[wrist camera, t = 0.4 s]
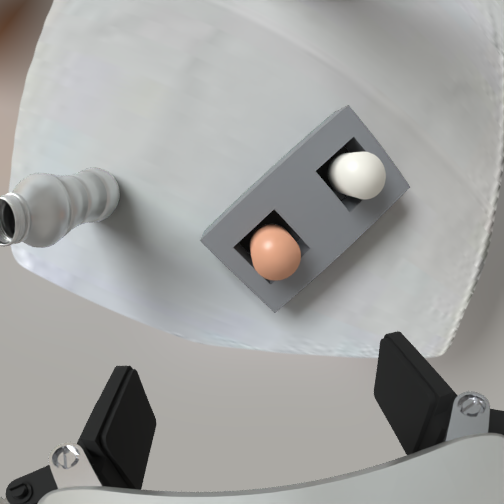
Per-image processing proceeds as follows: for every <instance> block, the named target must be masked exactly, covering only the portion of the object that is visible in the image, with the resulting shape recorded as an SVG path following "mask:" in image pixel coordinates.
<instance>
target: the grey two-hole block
mask: <svg viewBox="0 0 504 504" xmlns="http://www.w3.org/2000/svg"><path fill="white" fill-rule="evenodd" d="M343 146H345V147H346V149H347V150H348V151H349V152H350V153H352V152H369V153H372V154H374V155H375V156H377V157H378V158H379V159H380V160H381V162H382V163H383V165H384V168H385V172H386V180H385V184H384V187H383V189H382V190H381V192H380V193H379V194H378V195H377V196H375V197H373V198H371V199H359V198H355V197H352V196H348V195H347V196H346V197H345V198H344V199H343V200H342V201H340V200H339V198H338V197H337V196H336V195H335V194H334V192H333V191H332V190H331V189H330V188H329V186H328V185H327V184H326V183H325V182H324V181H323V179H322V178H321V177H320V176H319V175H318V174H317V172H316V170H317V169H318V168H320V167H321V166H322V165H323V164H324V163H325V162H326V161H327V160H328V159H329V158H331V157H332V156H333V155H334V154H335V153H336V152H337V151H338V150H339V149H340V148H342V147H343ZM409 188H410V186H409V184H408V183H407V181H406V180H405V178H404V177H403V176H402V174H401V173H400V171H399V170H398V168H397V167H396V166H395V164H394V163H393V161H392V160H391V159H390V157H389V156H388V154H387V153H386V152H385V150H384V149H383V148H382V146H381V145H380V144H379V142H378V141H377V140H376V138H375V137H374V136H373V135H372V133H371V132H370V131H369V130H368V128H367V127H366V126H365V125H364V123H363V122H362V121H361V120H360V118H359V117H358V116H357V115H356V114H355V112H354V111H353V110H352V109H351V108H350V106H349V105H347V106H345V107H343V108H341V109H339V110H337V111H335V112H334V113H333V114H331V115H330V116H329V117H328V118H327V119H326V120H325V121H323V122H322V123H321V124H320V125H319V126H318V127H316V128H315V129H314V130H313V131H312V132H311V133H310V134H308V135H307V136H306V137H305V138H304V139H303V140H302V141H300V142H299V143H298V144H297V145H296V146H295V147H294V148H293V149H292V150H290V151H289V152H288V153H287V154H286V155H285V156H284V157H283V158H282V159H280V160H279V161H278V162H277V163H276V164H275V165H274V166H273V167H272V168H271V169H269V170H268V171H267V172H266V173H265V174H264V175H263V176H262V177H261V178H260V179H259V180H257V181H256V182H255V183H254V184H253V185H252V186H251V187H250V188H249V189H248V190H247V191H246V192H245V193H244V194H243V195H241V196H240V197H239V198H238V199H237V200H236V201H235V202H234V203H233V204H232V205H231V206H230V207H229V208H228V209H227V210H226V211H225V212H224V213H223V214H222V215H220V216H219V217H218V218H217V219H216V220H215V221H214V222H213V223H212V224H211V225H210V226H209V227H208V228H207V229H206V230H205V231H204V233H203V235H202V237H201V240H200V241H201V242H202V243H203V244H204V245H205V246H206V247H207V248H208V249H209V250H210V251H211V252H212V253H213V254H214V255H215V256H216V257H217V258H218V259H219V260H220V261H221V262H222V263H223V264H224V265H225V266H226V267H227V268H228V269H230V270H231V271H232V272H233V273H234V274H235V275H236V276H237V277H238V278H239V279H240V280H241V281H242V282H243V283H244V284H245V285H246V286H247V287H248V288H249V289H250V290H251V291H252V292H253V293H254V294H255V295H257V296H258V297H259V298H260V299H261V300H262V301H263V302H264V303H265V304H266V305H267V306H268V307H269V308H270V309H271V310H272V311H273V312H274V313H276V312H277V311H278V310H279V309H280V308H281V307H283V306H284V305H285V304H286V303H287V302H288V301H289V300H291V299H292V298H293V297H294V296H295V295H296V294H298V293H299V292H300V291H301V290H302V289H303V288H304V287H305V286H307V285H308V284H309V283H310V282H311V281H312V280H313V279H314V278H316V277H317V276H318V275H319V274H320V273H321V272H322V271H323V270H324V269H326V268H327V267H328V266H329V265H330V264H331V263H332V262H333V261H334V260H335V259H336V258H338V257H339V256H340V255H341V254H342V253H343V252H344V251H345V250H346V249H347V248H348V247H349V246H350V245H352V244H353V243H354V242H355V241H356V240H357V239H358V238H359V237H360V236H361V235H362V234H363V233H364V232H365V231H366V230H367V229H368V228H369V227H370V226H371V225H372V224H374V223H375V222H376V221H377V220H378V219H379V218H380V217H381V216H382V215H383V214H384V213H385V212H386V211H387V210H388V209H389V208H390V207H391V206H392V205H393V204H394V203H395V202H396V201H397V200H398V199H399V198H400V197H401V196H402V195H403V194H404V193H405V192H406V191H407V190H408V189H409ZM273 210H275V211H276V212H277V213H278V214H279V215H280V216H281V217H282V218H283V219H284V220H285V221H286V222H287V224H288V225H289V226H290V227H291V228H292V229H293V230H294V231H295V232H296V233H297V234H298V236H299V237H300V238H301V239H300V240H299V241H298V242H297V244H298V246H299V248H300V251H301V260H300V264H299V266H298V268H297V270H296V271H295V272H294V273H293V274H292V275H291V276H289V277H288V278H285V279H283V280H276V281H275V280H269V279H266V278H264V277H262V276H261V275H260V274H258V272H257V271H256V270H255V268H254V266H253V262H252V257H251V255H250V254H249V253H248V252H247V251H246V250H245V249H244V248H243V247H242V246H241V245H240V244H239V243H238V242H239V241H241V240H242V239H243V238H244V237H245V236H246V235H247V234H248V233H249V232H250V231H251V230H252V229H253V228H254V227H256V226H257V225H258V224H259V223H260V222H261V221H262V220H263V219H264V218H265V217H266V216H267V215H268V214H269V213H271V212H272V211H273Z"/></svg>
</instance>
